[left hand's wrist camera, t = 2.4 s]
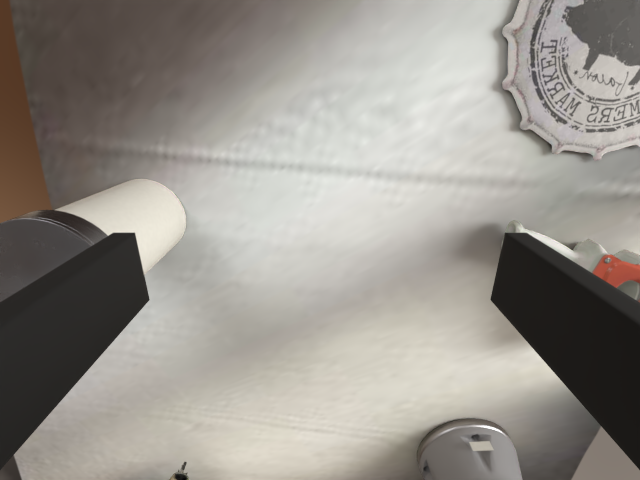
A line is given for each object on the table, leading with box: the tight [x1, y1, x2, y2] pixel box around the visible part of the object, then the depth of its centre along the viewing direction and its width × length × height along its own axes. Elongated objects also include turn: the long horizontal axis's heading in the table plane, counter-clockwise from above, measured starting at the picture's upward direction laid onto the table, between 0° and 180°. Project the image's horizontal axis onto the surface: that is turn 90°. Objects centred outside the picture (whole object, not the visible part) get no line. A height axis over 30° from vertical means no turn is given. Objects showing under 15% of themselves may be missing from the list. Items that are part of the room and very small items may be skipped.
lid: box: [0, 210, 108, 302], centre depth 27 cm, size 10×10×2 cm
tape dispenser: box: [501, 220, 640, 302], centre depth 41 cm, size 18×5×20 cm
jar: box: [56, 179, 186, 275], centre depth 34 cm, size 9×9×16 cm
